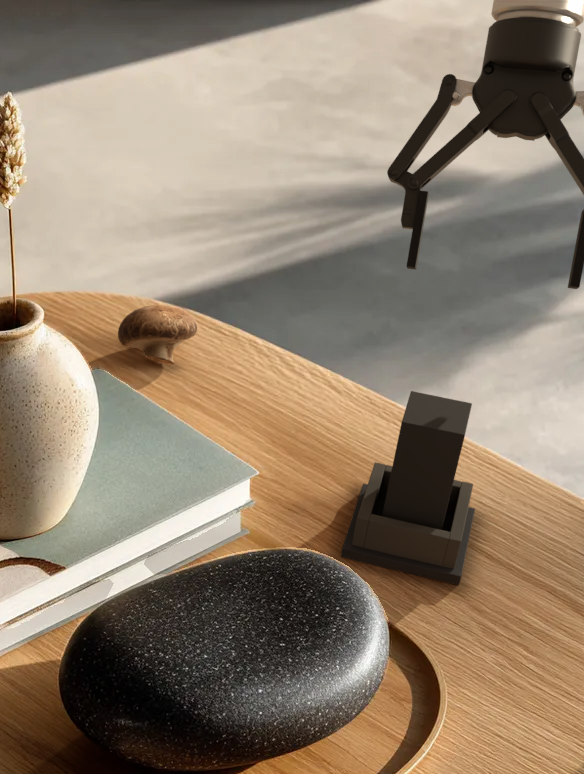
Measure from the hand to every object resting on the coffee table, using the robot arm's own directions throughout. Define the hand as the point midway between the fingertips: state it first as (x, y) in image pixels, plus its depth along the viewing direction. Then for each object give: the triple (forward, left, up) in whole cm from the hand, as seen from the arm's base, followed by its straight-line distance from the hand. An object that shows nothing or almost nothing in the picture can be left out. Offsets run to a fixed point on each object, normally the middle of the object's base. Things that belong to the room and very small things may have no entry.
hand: (491, 278), depth 115 cm
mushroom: (+30, +11, -19) cm, 37 cm away
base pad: (-6, +13, -18) cm, 23 cm away
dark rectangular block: (-6, +13, -17) cm, 23 cm away
